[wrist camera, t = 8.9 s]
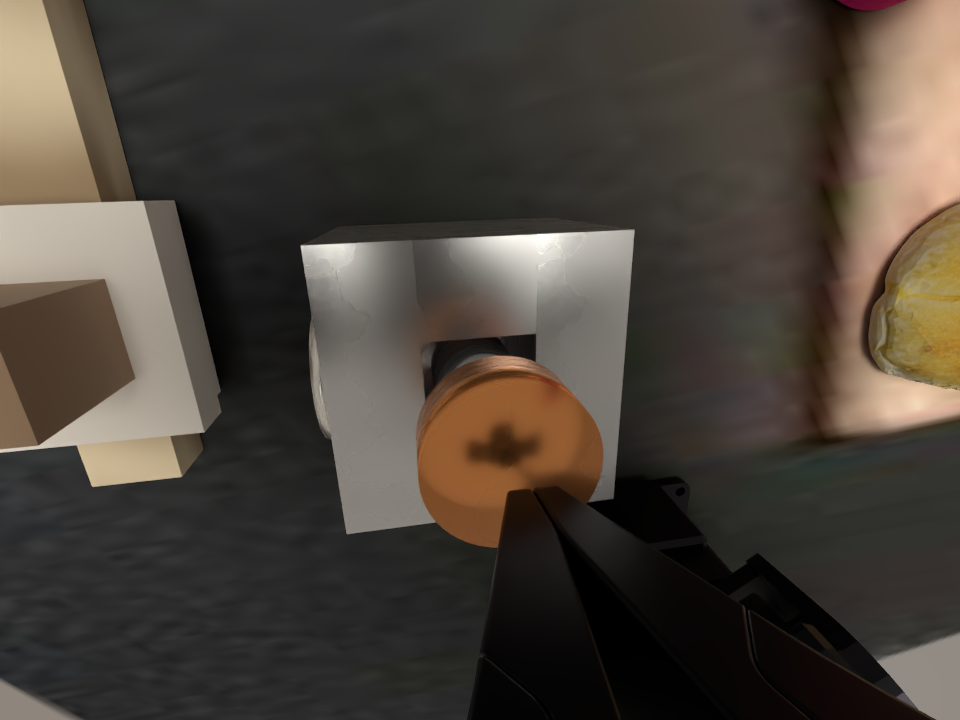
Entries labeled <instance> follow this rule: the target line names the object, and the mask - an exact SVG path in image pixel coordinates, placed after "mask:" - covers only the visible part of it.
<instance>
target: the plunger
mask: <svg viewBox="0 0 960 720" xmlns="http://www.w3.org/2000/svg"><path fill="white" fill-rule="evenodd" d="M431 370H432V376H433V382H434V387H435V388H434V389H433V390H432V391H431V393H430V394H429V396H428V397H427V399H426V401H425V402H424V404H423V406H422V409H421V411H420V414H419V417H418V421H417V427H416V451H417V467H418V483H419V489H420V494H421V497H422V500H423V502H424V504H425V506H426V508H427V510H428V512H429V513H430V515H431V516H432V518H433V519H434V520H435V521H436V522H437V523H438V524H439V525H440V526H441V527H442V528H443V529H444V530H446V531H447V532H448V533H450V534H451V535H453V536H455V537H457V538H458V539H460V540H463V541H465V542H468V543H471V544H475V545H479V546H484V547H494V548H498V543H499V537H500V531H501V525H502V519H503V513H504V507H505V502H506V496H507V493H508V492H509V491H511V490H519V489H527V488H528V489H531V490H533V489H534V488H536V487H543V486H551V485H556V486H558V487H560V488H562V489H563V490H565V491H566V492H568V493H570V494H571V495H573V496H574V497H576V498H577V499H579V500H580V501H582V502H584V503H585V504H587V503H588V501H589V500H590V498H591V496H592V495H593V493H594V491H595V489H596V487H597V484H598V482H599V479H600V476H601V472H602V466H603V444H602V438H601V435H600V432H599V429H598V427H597V425H596V423H595V421H594V419H593V418H592V416H591V415H590V414H589V412H588V411H587V410H586V408H585V407H584V406H583V405H582V404H581V403H580V402H579V400H578V399H577V398H576V397H575V396H574V395H573V393H572V392H571V391H570V390H569V389H568V388H567V387H566V385H565V384H564V383H563V382H562V381H561V380H560V379H559V378H558V377H557V376H556V375H555V374H554V373H553V372H552V371H550V370H549V369H548V368H546V367H544V366H542V365H541V364H539V363H537V362H534V361H531V360H529V359H525V358H521V357H514V356H511V355H510V353H509V352H508V350H507V349H506V348H505V346H504V345H503V343H502V342H501V340H500V339H499V338H498V337H486V338H473V339H461V340H448V341H440V342H439V343H438V344H437V346H436V348H435V350H434V352H433V355H432V360H431Z"/></svg>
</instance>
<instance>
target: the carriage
mask: <svg viewBox="0 0 960 720" xmlns="http://www.w3.org/2000/svg"><path fill="white" fill-rule="evenodd" d="M220 392H221V390H220V386H219V382H218V378H217V374H216V370H215V365H214V361H213V357H212V353H211V349H210V345H209V341H208V337H207V333H206V328H205V324H204V320H203V316H202V312H201V308H200V304H199V300H198V295H197V291H196V287H195V283H194V279H193V275H192V271H191V267H190V262H189V258H188V254H187V250H186V246H185V242H184V238H183V234H182V229H181V225H180V221H179V217H178V213H177V209H176V205H175V201H169V200H161V201H125V202H95V203H65V204H35V205H6V206H0V453H2V452H12V451H22V450H32V449H42V448H52V447H62V446H73V445H83V444H93V443H103V442H113V441H123V440H133V439H143V438H153V437H163V436H174V435H184V434H194V433H204V432H205V431H206V430H207V429H208V428H209V426H210V425H211V424H212V423H213V422H214V420H215V419H216V418H217V417H218V416H219V414H220V413H221V408H220V404H219V400H218V396H217V395H218V394H219V393H220Z"/></svg>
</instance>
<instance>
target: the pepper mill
mask: <svg viewBox="0 0 960 720" xmlns="http://www.w3.org/2000/svg"><path fill="white" fill-rule="evenodd" d="M837 1H839V2H841V3H842V4H844V5H846V6H849V7H851V8H853V9H859V10H864V11H867V10H879V9H884V8H887V7H890V6H893V5H895V4H898V3H901V2H903V1H906V0H837Z"/></svg>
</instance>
